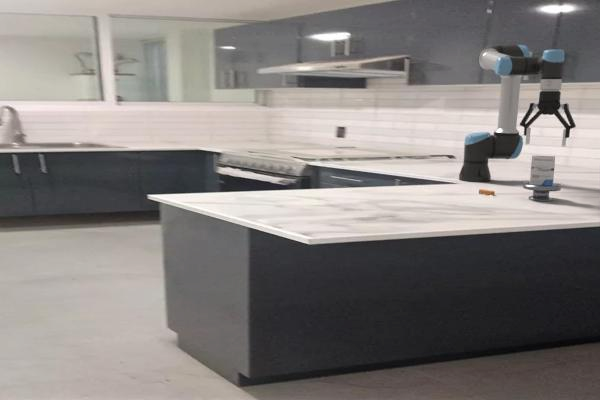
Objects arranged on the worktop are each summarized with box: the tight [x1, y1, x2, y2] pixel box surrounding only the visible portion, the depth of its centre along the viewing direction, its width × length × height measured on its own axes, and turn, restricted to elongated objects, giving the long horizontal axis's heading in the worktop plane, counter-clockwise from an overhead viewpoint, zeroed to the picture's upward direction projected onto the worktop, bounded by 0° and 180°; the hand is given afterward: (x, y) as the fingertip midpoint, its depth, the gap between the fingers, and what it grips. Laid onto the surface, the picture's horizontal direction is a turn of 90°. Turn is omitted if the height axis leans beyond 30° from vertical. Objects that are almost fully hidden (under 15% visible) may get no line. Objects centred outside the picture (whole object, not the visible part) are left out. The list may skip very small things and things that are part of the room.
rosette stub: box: [522, 179, 562, 202], centre depth 216 cm, size 14×14×7 cm
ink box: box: [529, 154, 556, 186], centre depth 215 cm, size 8×5×12 cm, turn 64°
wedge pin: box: [478, 188, 496, 196], centre depth 228 cm, size 6×2×2 cm, turn 37°
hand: (545, 145), depth 213 cm, fingers open, 13 cm apart
